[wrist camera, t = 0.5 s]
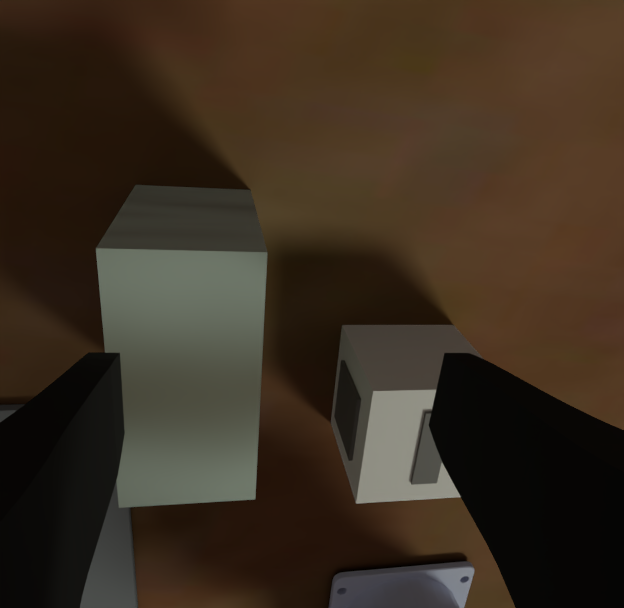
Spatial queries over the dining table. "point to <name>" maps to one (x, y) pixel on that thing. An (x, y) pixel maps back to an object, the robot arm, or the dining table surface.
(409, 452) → the marked cube
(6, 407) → the slate mat
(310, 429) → the dining table surface
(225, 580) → the dining table surface
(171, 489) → the pale green block
